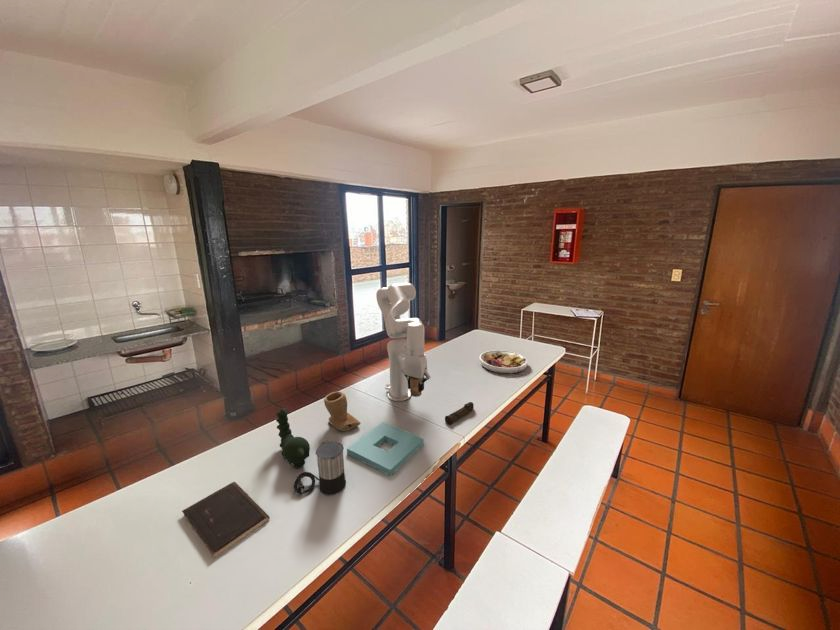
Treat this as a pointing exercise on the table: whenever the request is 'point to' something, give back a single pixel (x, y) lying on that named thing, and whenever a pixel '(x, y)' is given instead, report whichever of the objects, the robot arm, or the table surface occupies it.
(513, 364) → the bowl
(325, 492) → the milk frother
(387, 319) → the robot arm
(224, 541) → the hardcover book
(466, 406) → the hand tool
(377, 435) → the square hole plate
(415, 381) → the cylinder
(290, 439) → the toy figurine
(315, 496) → the table surface
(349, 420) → the tan boot-shaped piece
